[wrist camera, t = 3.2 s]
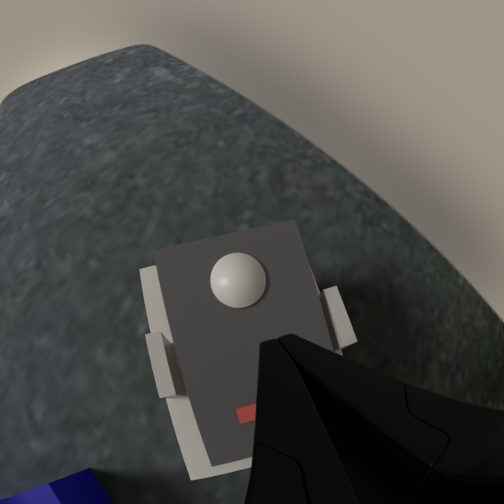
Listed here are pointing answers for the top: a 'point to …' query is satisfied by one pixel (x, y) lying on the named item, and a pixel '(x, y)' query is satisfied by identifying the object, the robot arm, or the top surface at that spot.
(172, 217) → the top surface
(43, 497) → the blue notched block
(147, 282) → the switch box
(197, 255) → the rocker
